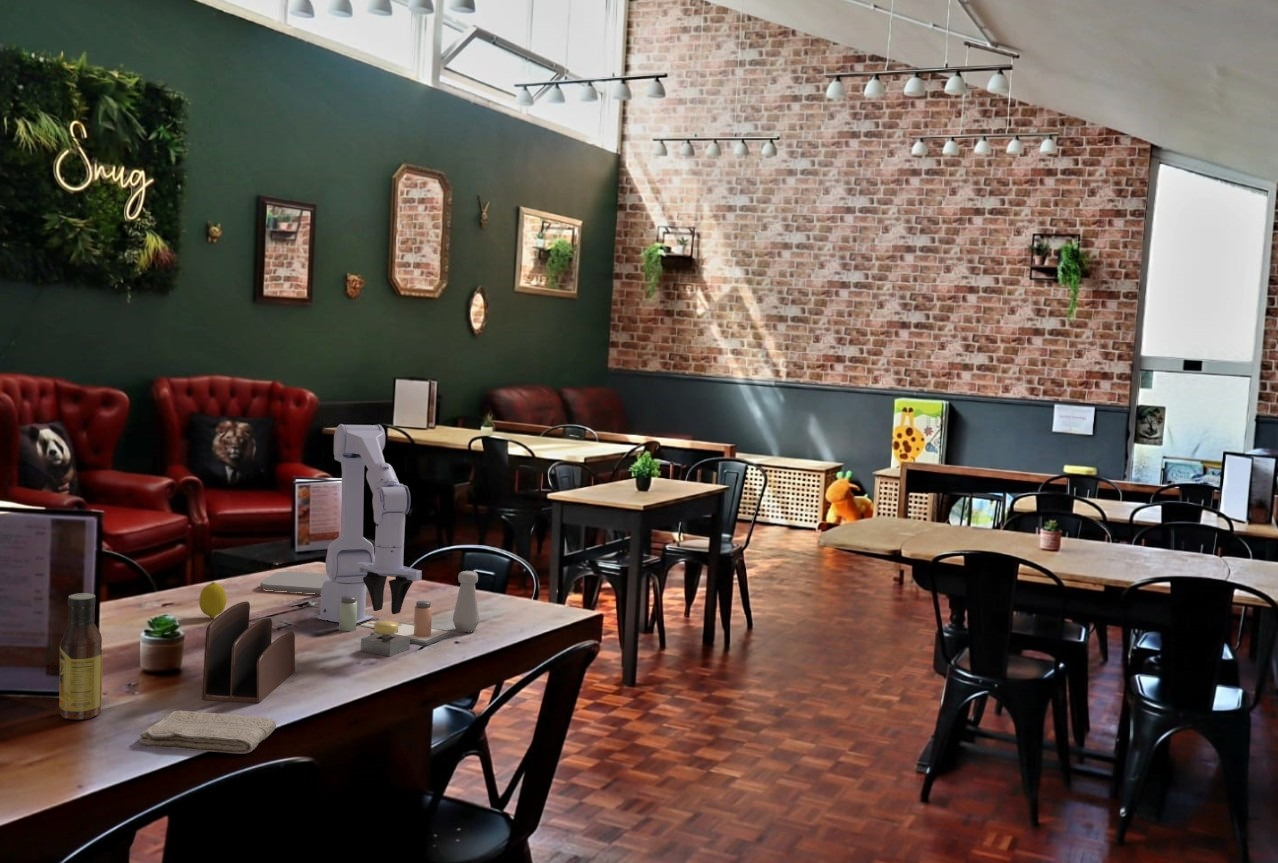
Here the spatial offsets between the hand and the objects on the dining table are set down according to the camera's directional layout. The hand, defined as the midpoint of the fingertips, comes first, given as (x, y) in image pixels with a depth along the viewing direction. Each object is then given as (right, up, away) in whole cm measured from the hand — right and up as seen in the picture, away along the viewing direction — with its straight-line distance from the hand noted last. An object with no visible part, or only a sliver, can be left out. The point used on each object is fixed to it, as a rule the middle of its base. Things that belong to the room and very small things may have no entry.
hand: (386, 611), depth 238 cm
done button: (0, -6, 0) cm, 6 cm away
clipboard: (+3, -7, +13) cm, 15 cm away
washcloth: (-16, -12, -54) cm, 58 cm away
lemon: (-42, -4, +18) cm, 46 cm away
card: (-7, -6, +19) cm, 21 cm away
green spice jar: (-12, -6, +15) cm, 20 cm away
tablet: (-28, -3, +53) cm, 60 cm away
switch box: (0, -8, +1) cm, 8 cm away
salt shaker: (+13, -7, +20) cm, 25 cm away
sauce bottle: (-39, -10, -48) cm, 63 cm away
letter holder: (-19, -9, -27) cm, 34 cm away
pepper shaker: (+5, -7, +11) cm, 14 cm away
